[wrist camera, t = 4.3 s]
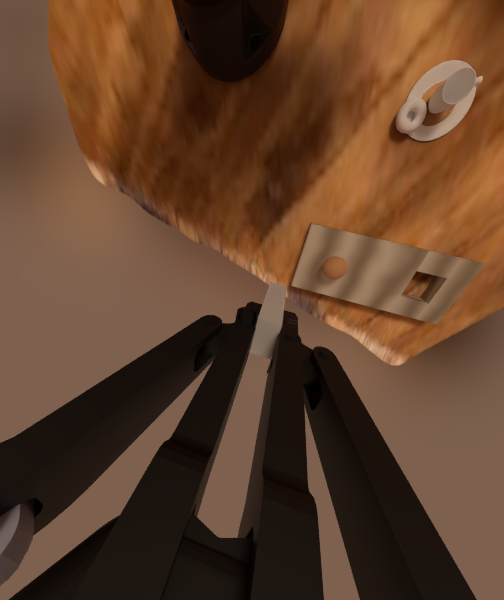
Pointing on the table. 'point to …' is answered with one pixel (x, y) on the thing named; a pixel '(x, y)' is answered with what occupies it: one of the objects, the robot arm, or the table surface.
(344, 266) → the ball
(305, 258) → the box with square hole
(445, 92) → the teacup and saucer
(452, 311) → the table surface
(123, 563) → the robot arm
